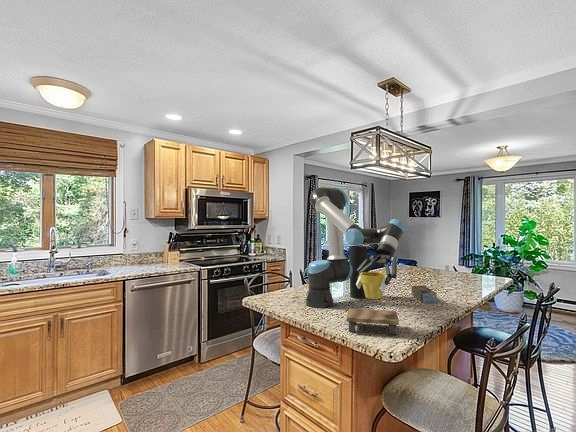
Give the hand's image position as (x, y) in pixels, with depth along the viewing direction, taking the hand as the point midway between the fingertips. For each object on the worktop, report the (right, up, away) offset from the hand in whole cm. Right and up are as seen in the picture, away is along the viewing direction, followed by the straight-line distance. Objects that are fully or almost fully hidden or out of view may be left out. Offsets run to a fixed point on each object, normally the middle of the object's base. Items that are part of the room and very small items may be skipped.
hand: (369, 288), depth 128 cm
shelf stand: (+2, -17, +1) cm, 17 cm away
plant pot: (+2, -4, +2) cm, 5 cm away
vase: (+9, -18, +57) cm, 61 cm away
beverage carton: (+44, -18, +49) cm, 68 cm away
